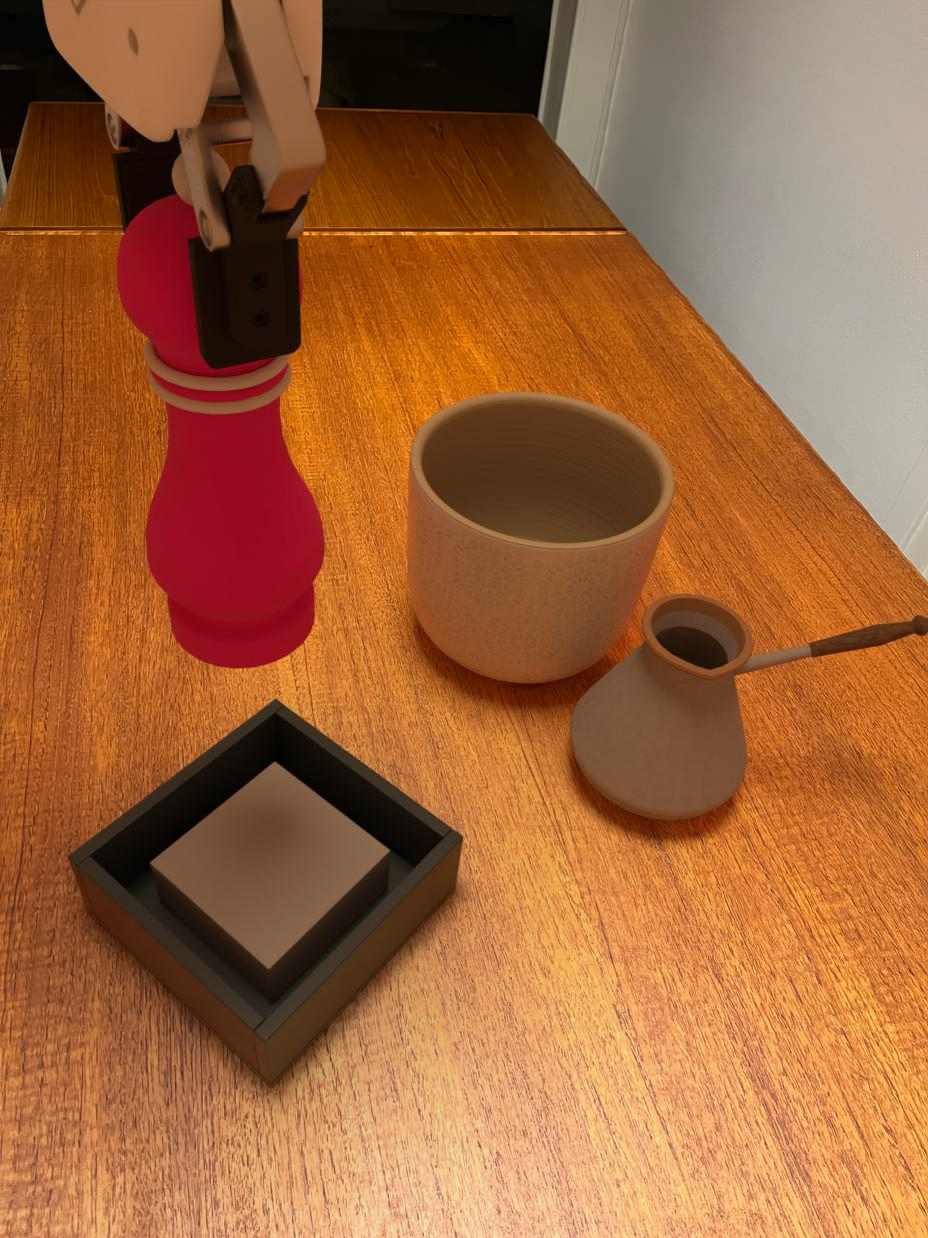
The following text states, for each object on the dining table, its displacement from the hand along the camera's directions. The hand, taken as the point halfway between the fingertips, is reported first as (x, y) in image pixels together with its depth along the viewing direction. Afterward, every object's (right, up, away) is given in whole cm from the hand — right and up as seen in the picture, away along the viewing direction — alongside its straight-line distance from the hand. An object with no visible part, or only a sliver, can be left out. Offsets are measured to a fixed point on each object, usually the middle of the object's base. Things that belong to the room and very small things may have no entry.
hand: (211, 304), depth 33 cm
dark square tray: (-2, -27, +22) cm, 35 cm away
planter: (+12, -12, +40) cm, 43 cm away
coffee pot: (+26, -21, +32) cm, 46 cm away
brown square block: (-2, -26, +22) cm, 34 cm away
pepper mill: (-1, -11, +11) cm, 15 cm away
